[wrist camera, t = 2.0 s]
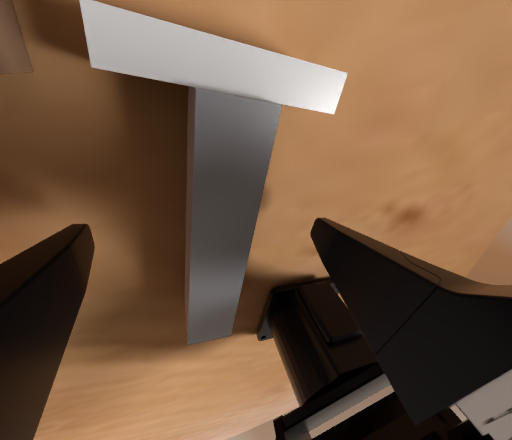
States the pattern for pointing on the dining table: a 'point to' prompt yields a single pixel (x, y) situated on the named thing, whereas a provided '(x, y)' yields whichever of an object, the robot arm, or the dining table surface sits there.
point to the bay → (12, 42)
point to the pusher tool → (214, 138)
